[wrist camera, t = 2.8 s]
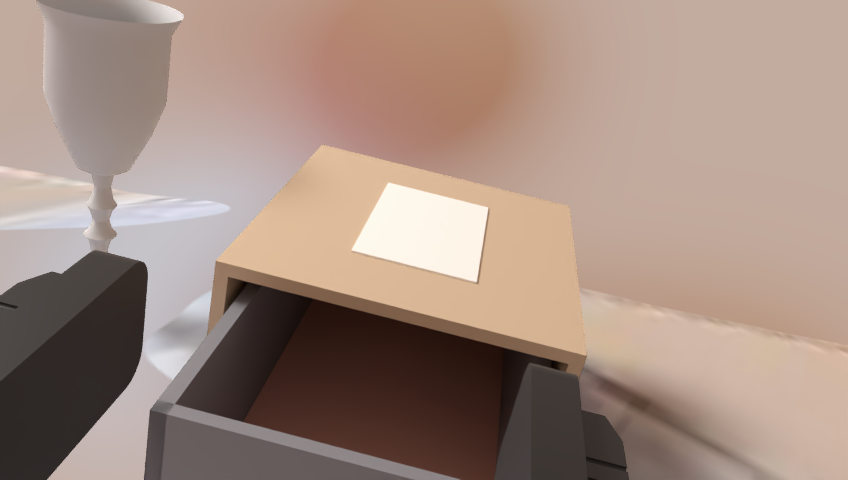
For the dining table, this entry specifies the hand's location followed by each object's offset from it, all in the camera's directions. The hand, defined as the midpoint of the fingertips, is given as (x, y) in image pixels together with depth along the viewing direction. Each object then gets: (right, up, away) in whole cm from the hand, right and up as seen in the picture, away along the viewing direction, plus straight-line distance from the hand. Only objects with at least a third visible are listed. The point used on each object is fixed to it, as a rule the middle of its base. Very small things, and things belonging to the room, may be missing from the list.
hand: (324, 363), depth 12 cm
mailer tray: (-1, -8, +29) cm, 30 cm away
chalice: (-18, -2, +36) cm, 40 cm away
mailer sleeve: (-1, -7, +33) cm, 34 cm away
